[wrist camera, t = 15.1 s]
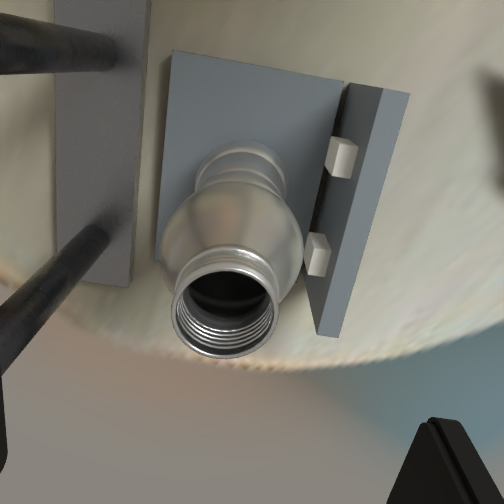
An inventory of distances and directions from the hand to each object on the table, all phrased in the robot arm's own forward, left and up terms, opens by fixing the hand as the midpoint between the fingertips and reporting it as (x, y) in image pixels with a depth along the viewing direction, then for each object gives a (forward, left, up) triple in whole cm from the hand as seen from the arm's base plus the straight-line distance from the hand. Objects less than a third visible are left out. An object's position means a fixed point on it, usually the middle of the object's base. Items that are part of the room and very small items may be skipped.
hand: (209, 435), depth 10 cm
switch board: (0, +1, -27) cm, 27 cm away
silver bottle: (0, 0, -25) cm, 25 cm away
